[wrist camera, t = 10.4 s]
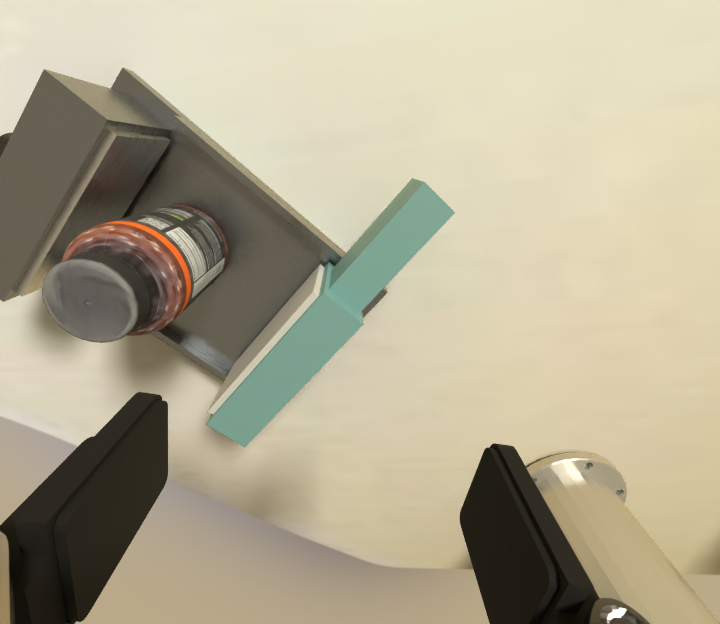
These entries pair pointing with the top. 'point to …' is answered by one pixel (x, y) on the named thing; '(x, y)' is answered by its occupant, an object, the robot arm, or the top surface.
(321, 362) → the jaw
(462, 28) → the top surface
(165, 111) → the vise
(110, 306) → the supplement bottle
